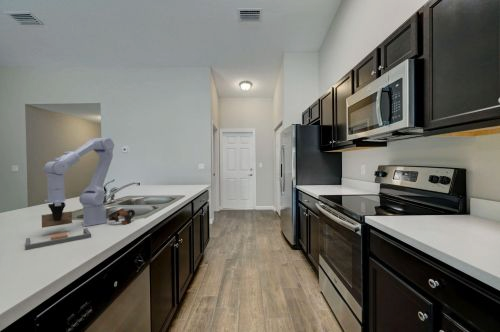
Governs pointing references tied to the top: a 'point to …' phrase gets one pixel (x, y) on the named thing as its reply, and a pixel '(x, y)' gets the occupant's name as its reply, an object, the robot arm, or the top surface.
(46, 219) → the brown wooden board
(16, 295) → the top surface
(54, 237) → the tile
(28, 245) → the bay
